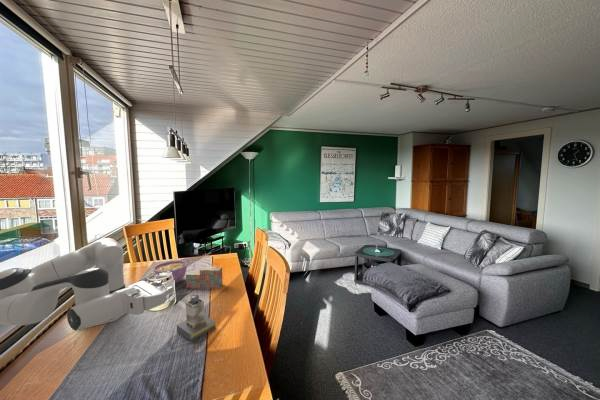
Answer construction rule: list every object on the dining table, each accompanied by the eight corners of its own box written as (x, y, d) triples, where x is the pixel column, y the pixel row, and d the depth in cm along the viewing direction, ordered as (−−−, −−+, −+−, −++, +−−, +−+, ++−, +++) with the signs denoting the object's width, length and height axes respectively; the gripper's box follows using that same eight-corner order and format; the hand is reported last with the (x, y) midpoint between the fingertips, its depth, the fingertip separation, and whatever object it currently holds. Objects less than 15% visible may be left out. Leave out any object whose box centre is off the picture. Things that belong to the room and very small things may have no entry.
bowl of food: (189, 274, 178) (188, 259, 177) (187, 286, 159) (186, 268, 158) (157, 279, 171) (156, 262, 170) (151, 291, 152) (150, 273, 151)
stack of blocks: (186, 288, 156) (185, 270, 154) (190, 284, 162) (189, 266, 161) (219, 289, 155) (218, 270, 154) (222, 284, 161) (222, 266, 160)
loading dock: (191, 341, 106) (191, 335, 105) (176, 331, 113) (176, 324, 113) (215, 327, 115) (215, 321, 115) (200, 318, 123) (200, 313, 122)
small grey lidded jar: (193, 328, 110) (192, 306, 109) (186, 324, 113) (185, 302, 112) (205, 322, 115) (204, 300, 113) (198, 317, 118) (197, 297, 117)
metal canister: (189, 305, 111) (189, 298, 111) (192, 301, 114) (192, 294, 114) (197, 305, 111) (197, 298, 111) (199, 301, 115) (200, 294, 115)
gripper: (118, 299, 97) (155, 286, 108) (140, 316, 85) (180, 300, 96) (117, 284, 96) (154, 272, 108) (139, 299, 85) (179, 284, 96)
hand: (166, 285), depth 102 cm, fingers open, 8 cm apart
